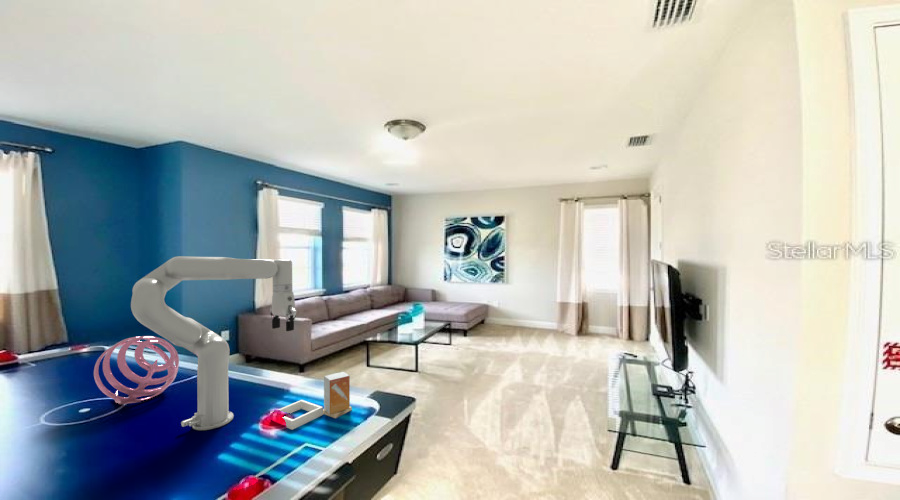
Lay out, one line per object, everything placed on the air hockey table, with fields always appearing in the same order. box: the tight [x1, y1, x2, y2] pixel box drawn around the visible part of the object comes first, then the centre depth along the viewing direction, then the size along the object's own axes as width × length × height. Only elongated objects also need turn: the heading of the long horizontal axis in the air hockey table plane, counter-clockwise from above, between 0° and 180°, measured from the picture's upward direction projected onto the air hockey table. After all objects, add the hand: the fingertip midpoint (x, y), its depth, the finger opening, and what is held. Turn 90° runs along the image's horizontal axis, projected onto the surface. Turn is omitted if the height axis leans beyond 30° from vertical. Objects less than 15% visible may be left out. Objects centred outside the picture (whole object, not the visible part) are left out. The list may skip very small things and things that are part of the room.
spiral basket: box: [93, 335, 180, 405], centre depth 150 cm, size 28×28×27 cm
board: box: [323, 406, 353, 419], centre depth 136 cm, size 8×8×1 cm
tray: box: [270, 399, 324, 430], centre depth 131 cm, size 13×13×3 cm
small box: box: [323, 371, 351, 414], centre depth 135 cm, size 8×6×13 cm
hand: (282, 329), depth 146 cm, fingers open, 9 cm apart
